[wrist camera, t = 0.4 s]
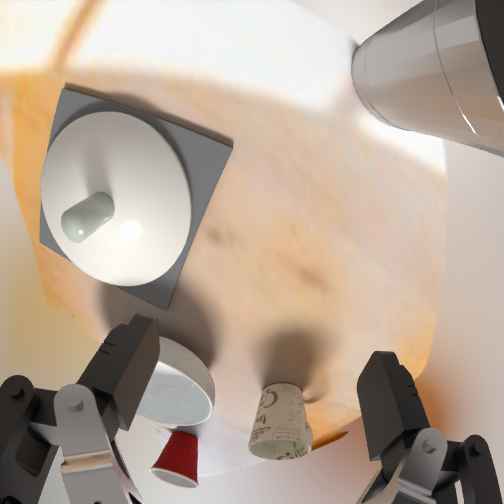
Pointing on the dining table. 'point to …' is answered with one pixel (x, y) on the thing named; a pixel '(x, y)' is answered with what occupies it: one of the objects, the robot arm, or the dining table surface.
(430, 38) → the robot arm
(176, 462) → the plastic cup
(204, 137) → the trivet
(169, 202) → the lid
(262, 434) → the mug
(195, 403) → the cereal bowl
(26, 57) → the dining table surface
